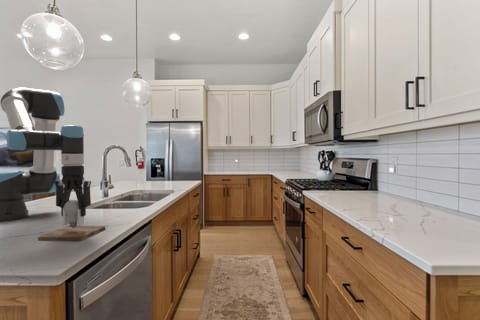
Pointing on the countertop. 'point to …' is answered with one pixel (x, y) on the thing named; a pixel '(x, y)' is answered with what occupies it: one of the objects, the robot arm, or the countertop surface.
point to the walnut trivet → (72, 233)
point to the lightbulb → (72, 212)
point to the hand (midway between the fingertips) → (73, 224)
